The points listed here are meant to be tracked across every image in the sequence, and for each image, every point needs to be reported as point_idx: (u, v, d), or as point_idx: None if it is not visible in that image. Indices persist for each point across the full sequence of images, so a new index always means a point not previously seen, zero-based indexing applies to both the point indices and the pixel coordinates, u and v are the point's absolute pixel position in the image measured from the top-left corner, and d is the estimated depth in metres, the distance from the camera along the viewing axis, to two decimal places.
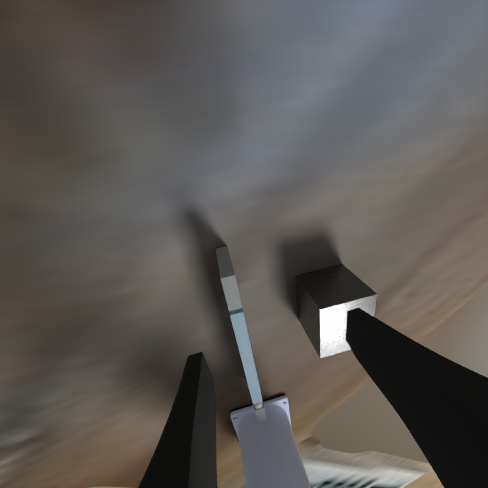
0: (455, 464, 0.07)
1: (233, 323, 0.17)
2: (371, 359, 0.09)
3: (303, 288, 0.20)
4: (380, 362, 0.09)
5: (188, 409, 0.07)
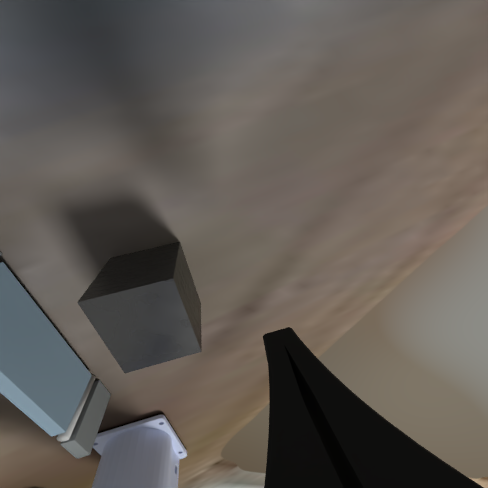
0: None
1: None
2: None
3: (102, 273, 0.14)
4: (299, 387, 0.09)
5: (288, 378, 0.08)
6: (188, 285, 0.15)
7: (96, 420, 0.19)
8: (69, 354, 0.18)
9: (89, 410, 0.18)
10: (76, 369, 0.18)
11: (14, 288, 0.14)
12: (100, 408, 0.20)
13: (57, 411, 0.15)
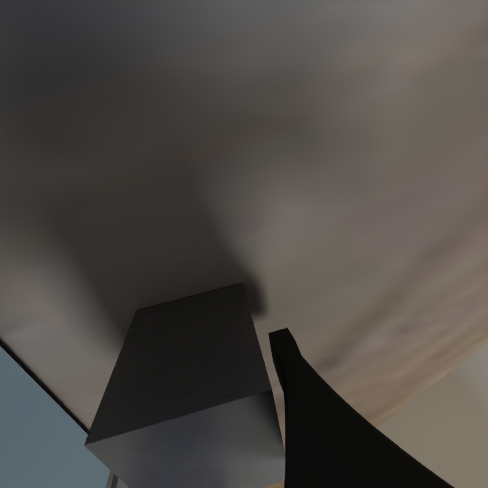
0: None
1: None
2: None
3: (125, 347, 0.08)
4: None
5: (301, 374, 0.08)
6: None
7: None
8: (84, 442, 0.12)
9: None
10: (93, 461, 0.12)
11: None
12: None
13: None
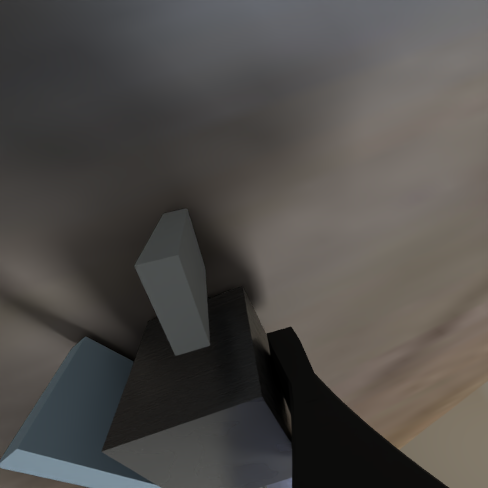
0: None
1: (27, 472, 0.07)
2: (283, 386, 0.09)
3: (138, 357, 0.09)
4: (287, 391, 0.09)
5: (306, 373, 0.08)
6: (268, 357, 0.10)
7: None
8: None
9: None
10: None
11: (114, 362, 0.11)
12: None
13: None
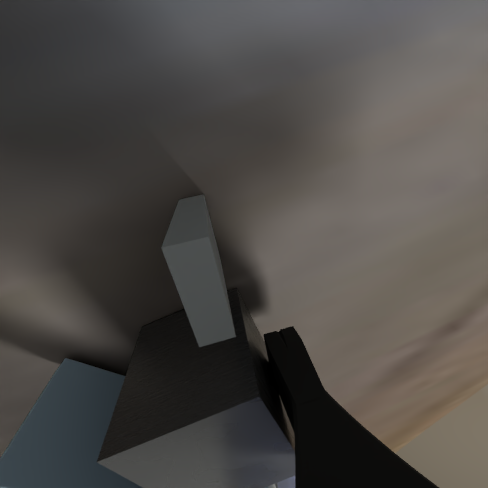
0: None
1: None
2: (279, 387, 0.09)
3: (132, 364, 0.09)
4: (283, 392, 0.09)
5: (309, 372, 0.08)
6: (263, 358, 0.10)
7: None
8: None
9: None
10: None
11: (99, 379, 0.10)
12: None
13: None
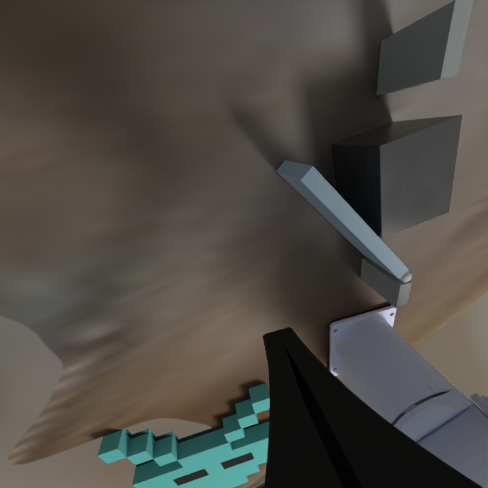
0: None
1: (311, 188, 0.13)
2: None
3: (346, 147, 0.15)
4: (299, 387, 0.09)
5: (288, 378, 0.08)
6: None
7: None
8: None
9: None
10: None
11: None
12: None
13: None
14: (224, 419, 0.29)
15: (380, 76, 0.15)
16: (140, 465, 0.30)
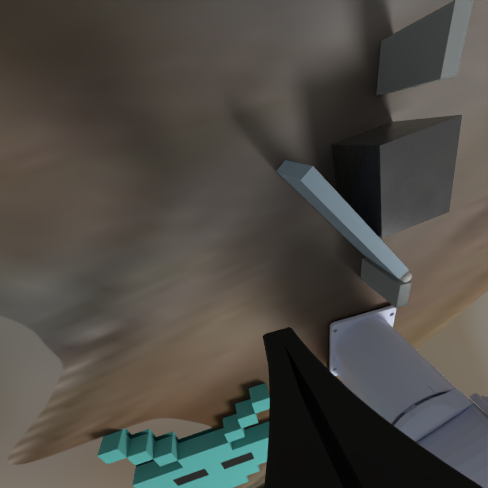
0: None
1: (311, 188, 0.13)
2: None
3: (345, 147, 0.15)
4: (299, 387, 0.09)
5: (288, 378, 0.08)
6: None
7: None
8: None
9: None
10: None
11: None
12: None
13: None
14: (224, 419, 0.29)
15: (380, 76, 0.15)
16: (140, 466, 0.30)
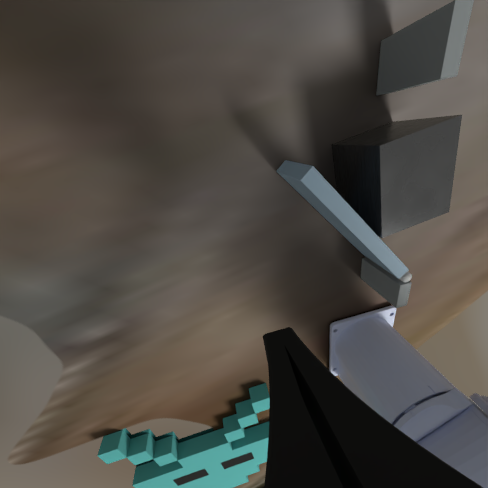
0: None
1: (311, 188, 0.13)
2: None
3: (345, 147, 0.15)
4: (299, 387, 0.09)
5: (288, 378, 0.08)
6: None
7: None
8: None
9: None
10: None
11: None
12: None
13: None
14: (224, 419, 0.29)
15: (380, 76, 0.15)
16: (140, 466, 0.30)
